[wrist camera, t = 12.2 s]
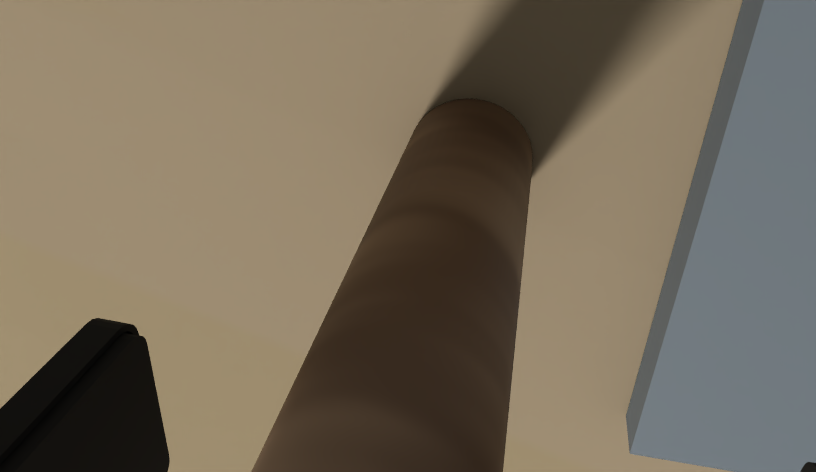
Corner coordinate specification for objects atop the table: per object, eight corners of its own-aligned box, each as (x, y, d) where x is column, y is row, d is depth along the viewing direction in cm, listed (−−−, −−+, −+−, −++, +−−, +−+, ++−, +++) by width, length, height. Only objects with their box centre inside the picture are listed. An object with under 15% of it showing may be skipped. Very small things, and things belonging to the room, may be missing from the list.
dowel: (406, 204, 19) (229, 642, 9) (411, 92, 17) (198, 476, 7) (524, 219, 19) (474, 698, 9) (540, 105, 17) (504, 535, 7)
